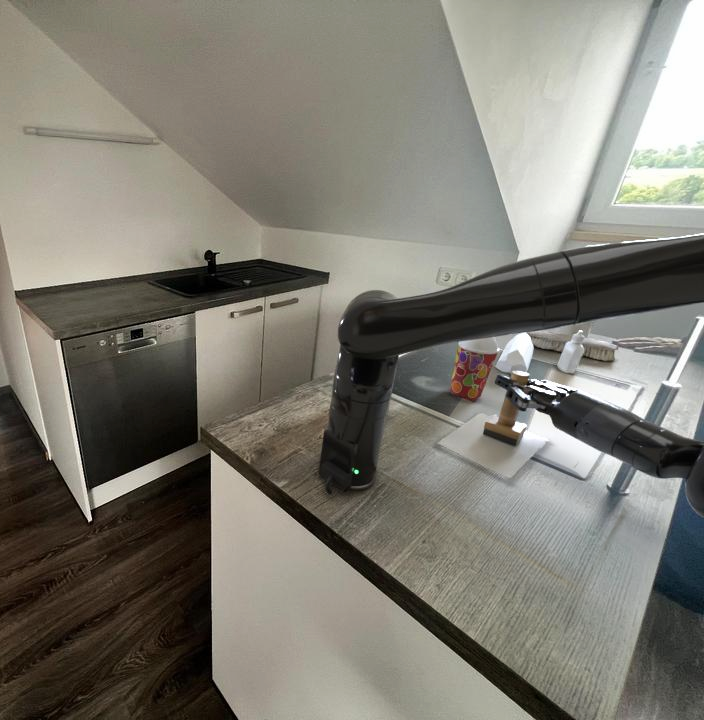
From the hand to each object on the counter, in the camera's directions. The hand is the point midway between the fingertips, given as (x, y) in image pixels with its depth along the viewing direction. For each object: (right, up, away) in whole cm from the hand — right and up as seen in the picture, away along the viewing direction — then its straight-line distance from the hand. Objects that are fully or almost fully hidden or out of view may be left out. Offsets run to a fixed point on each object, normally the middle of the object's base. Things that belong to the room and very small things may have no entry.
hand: (504, 377), depth 78 cm
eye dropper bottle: (+43, +1, +34) cm, 55 cm away
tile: (-2, -14, 0) cm, 14 cm away
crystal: (+31, +3, +39) cm, 50 cm away
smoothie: (+4, -6, +19) cm, 21 cm away
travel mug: (+65, +11, +58) cm, 88 cm away
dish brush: (+1, -12, +2) cm, 12 cm away
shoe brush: (+54, +6, +48) cm, 73 cm away
